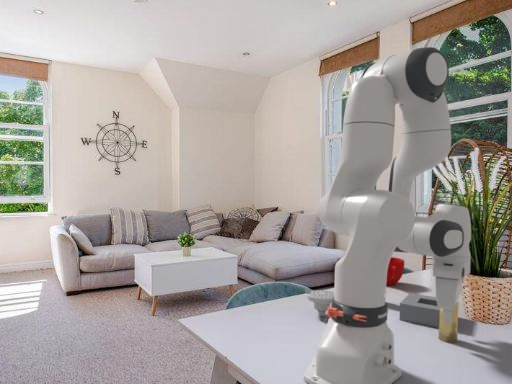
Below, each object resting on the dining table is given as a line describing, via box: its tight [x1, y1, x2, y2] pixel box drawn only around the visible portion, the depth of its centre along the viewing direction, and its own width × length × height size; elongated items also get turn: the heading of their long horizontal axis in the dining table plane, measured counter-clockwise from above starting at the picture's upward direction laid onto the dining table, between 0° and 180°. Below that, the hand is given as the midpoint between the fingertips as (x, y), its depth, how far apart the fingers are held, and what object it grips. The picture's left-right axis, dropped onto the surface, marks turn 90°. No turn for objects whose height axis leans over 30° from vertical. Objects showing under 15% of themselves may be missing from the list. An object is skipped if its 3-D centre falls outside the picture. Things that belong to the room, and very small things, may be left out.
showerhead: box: [305, 289, 334, 317], centre depth 119 cm, size 9×7×10 cm
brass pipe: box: [438, 301, 460, 344], centre depth 102 cm, size 4×4×10 cm
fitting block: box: [399, 292, 440, 329], centre depth 118 cm, size 14×14×5 cm
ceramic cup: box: [386, 256, 405, 286], centre depth 159 cm, size 13×17×10 cm
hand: (450, 317), depth 102 cm, fingers open, 8 cm apart
